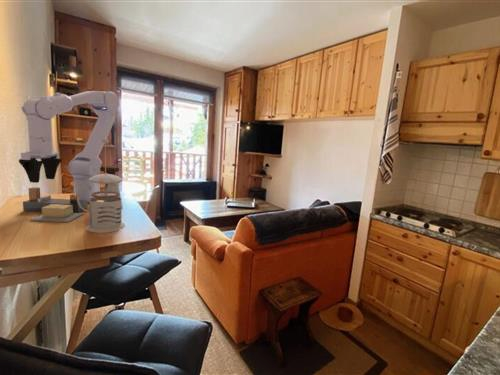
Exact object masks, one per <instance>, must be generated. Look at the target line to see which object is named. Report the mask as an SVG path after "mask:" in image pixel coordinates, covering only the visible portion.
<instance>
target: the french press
mask: <svg viewBox="0 0 500 375" xmlns="http://www.w3.org/2000/svg"><path fill="white" fill-rule="evenodd" d="M102 143H104V166H105V173H104V172H103V173H100V174H99V175H95V176H93V177H91V178H90V179H89V181H90V182H93V183H100V184H104V191H103V190H100V191H99V192H94V193H91V195H92V196H93V197H94V198H91V199H90V202H89V209H84V208H82V206H81V205H80V202H79V198H80V194H81V192H82V191H83V190H84V189H85V188H87V187H89V190H90V191H91V186H90V185H85V186H87V187H85V186H83V187H85V188H83V187H82V188H83V189H82V188H81V189H82V190H81V189H80V190H79V192H80V191H81V192H80V194H79V192H78V194H77V202H78V205H79V206H80V208H81V209H83V210H84V211H83V212H87V213H88V214H89V215H88V218H89V224H88V225H87V226H86V229H85V230H86V231H88V232H91V233H99V234H100V233H102V234H105V233H113V232H116V231H117V232H118V231H120V230H123V229H124V228H125V227H126V224H125V223H124V222H123V221H122V211H121V201H122V197H121V198H120V197H117V196H119V195H120V196H121V192H120V193H119V192H113V191H110V192H109V191H106V183H118V182H120V183H121V182H122V181H123V179H122V178H121V177H120V176H118V175H116V174H115V175H111V174H107V173H106V166H107V149H106V148H107V146H106V144H110V140H109V139H108V138H107V139H106V138H105V139H102ZM117 176H118V177H117ZM118 184H119V183H118ZM78 195H79V197H78ZM101 201H102V202H101ZM104 201H106V202H104ZM103 206H108V207H111V208H117V210H113V209H109V208H105V207H103ZM105 211H111V212H116V213H117V214H112V213H108V212H105ZM106 215H109V216H114V217H109V216H106Z"/></svg>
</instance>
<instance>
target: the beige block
mask: <svg viewBox="0 0 500 375" xmlns="http://www.w3.org/2000/svg"><path fill="white" fill-rule="evenodd" d="M41 215H42V218H63V219H65V218H67V217H69V216H71V215H73V205H59V204H51V205H48V206H45V207H42V212H41Z"/></svg>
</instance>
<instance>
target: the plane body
mask: <svg viewBox="0 0 500 375" xmlns="http://www.w3.org/2000/svg"><path fill="white" fill-rule="evenodd" d="M78 197H79V195H78ZM79 202H80V205H81V206H82V208H84V209H86V210H89V204H88V203H89V202H88V200H80V199H79ZM51 204H59V205H73V213H83V212H85V211H84V210H83V209H81V208H80V206H79V205H78V202H77V194H74V193H73V194H70V195H69V198H68V199H67V198H52V197H51V195H49V194H48V195H47V194H46V195H44V196H42V197H41V188H40V187H33V186H32V187H28V199H27V200H25V201H22V209H23V210H22V212H34V213H35V212H37V213H42V207H45V206H48V205H51Z"/></svg>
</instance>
